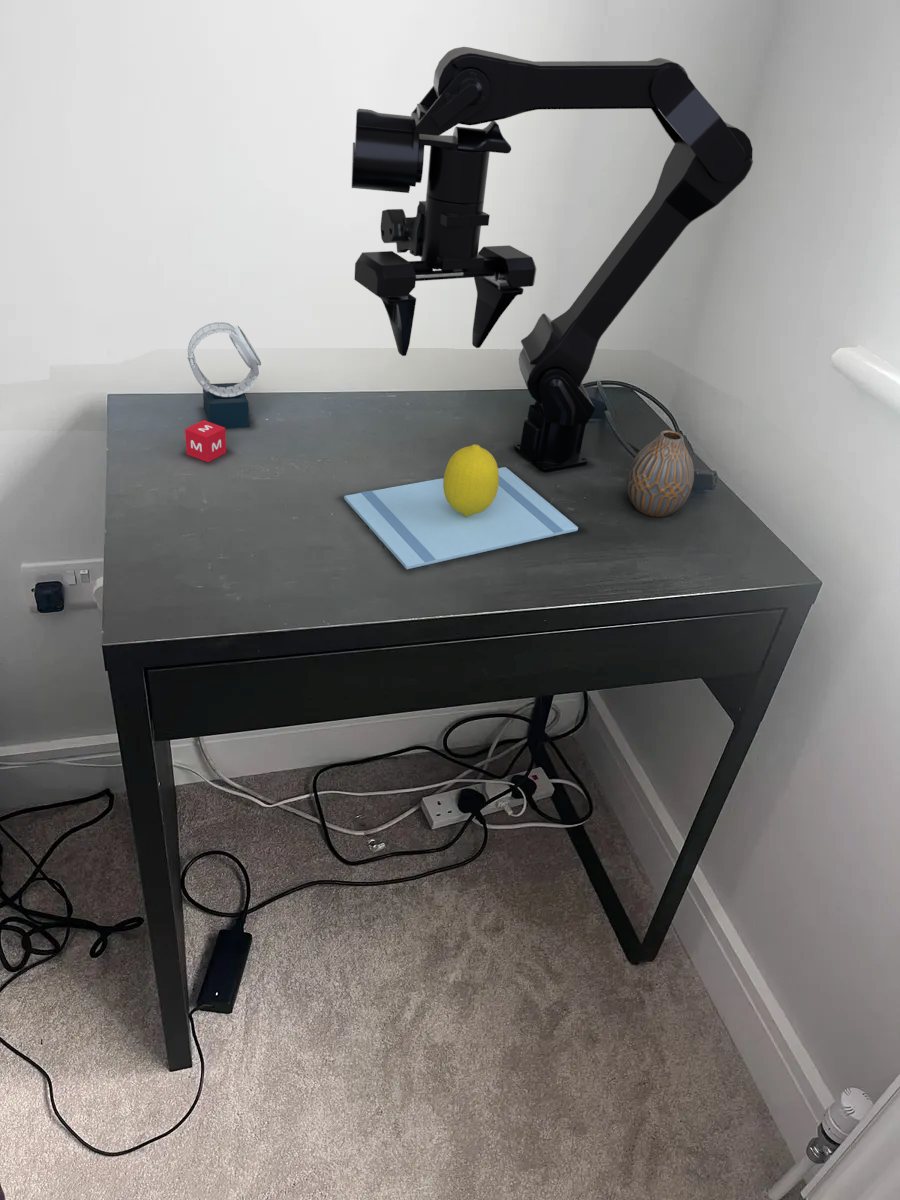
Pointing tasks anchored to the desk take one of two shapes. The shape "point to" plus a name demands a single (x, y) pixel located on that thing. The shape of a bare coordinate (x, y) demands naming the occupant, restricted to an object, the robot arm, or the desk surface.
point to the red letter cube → (205, 441)
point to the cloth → (455, 520)
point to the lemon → (471, 480)
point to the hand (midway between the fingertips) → (439, 350)
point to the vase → (661, 475)
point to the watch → (226, 399)
